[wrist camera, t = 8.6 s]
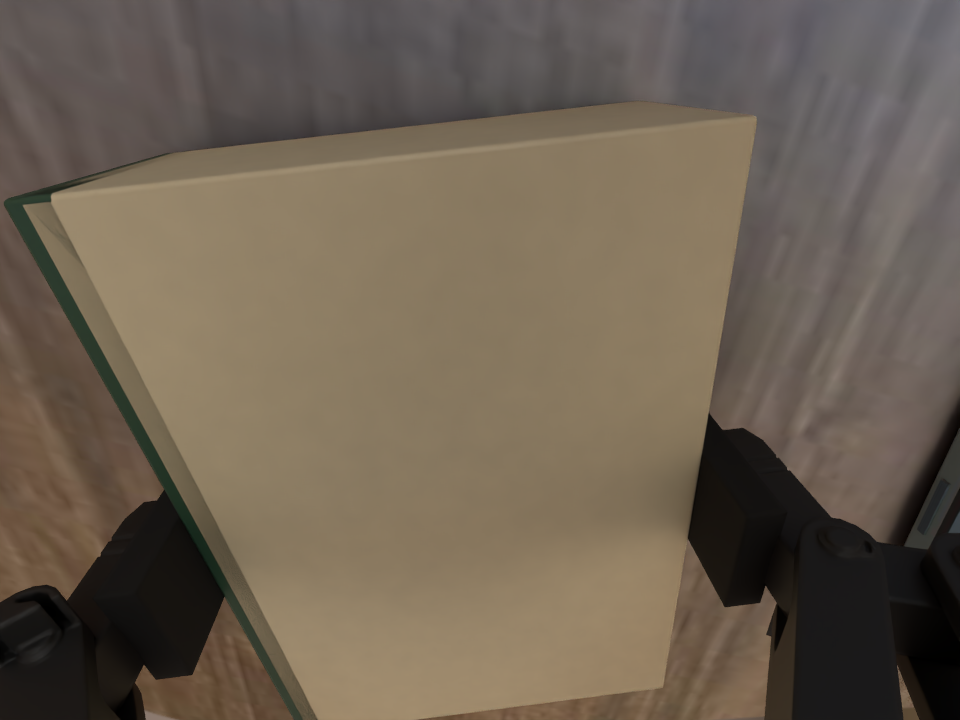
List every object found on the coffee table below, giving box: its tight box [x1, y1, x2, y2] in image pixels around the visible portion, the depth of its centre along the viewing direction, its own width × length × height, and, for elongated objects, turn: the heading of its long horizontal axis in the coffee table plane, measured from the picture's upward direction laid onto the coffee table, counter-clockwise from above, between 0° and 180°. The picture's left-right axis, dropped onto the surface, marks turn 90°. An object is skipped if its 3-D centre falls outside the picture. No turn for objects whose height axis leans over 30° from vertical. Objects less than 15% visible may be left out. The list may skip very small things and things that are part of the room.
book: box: [4, 101, 757, 720], centre depth 13 cm, size 16×11×5 cm
